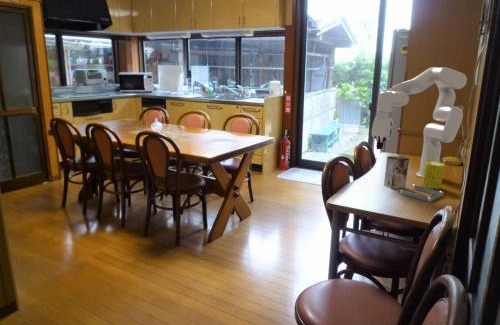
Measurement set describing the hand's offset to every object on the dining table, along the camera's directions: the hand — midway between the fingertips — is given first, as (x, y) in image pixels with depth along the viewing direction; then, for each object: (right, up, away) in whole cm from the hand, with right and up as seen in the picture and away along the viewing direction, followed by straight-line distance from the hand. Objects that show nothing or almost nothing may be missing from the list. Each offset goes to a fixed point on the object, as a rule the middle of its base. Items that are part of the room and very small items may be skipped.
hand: (379, 148), depth 201 cm
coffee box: (+7, -20, -3) cm, 22 cm away
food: (+27, -21, -3) cm, 34 cm away
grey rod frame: (+15, -23, -15) cm, 32 cm away
